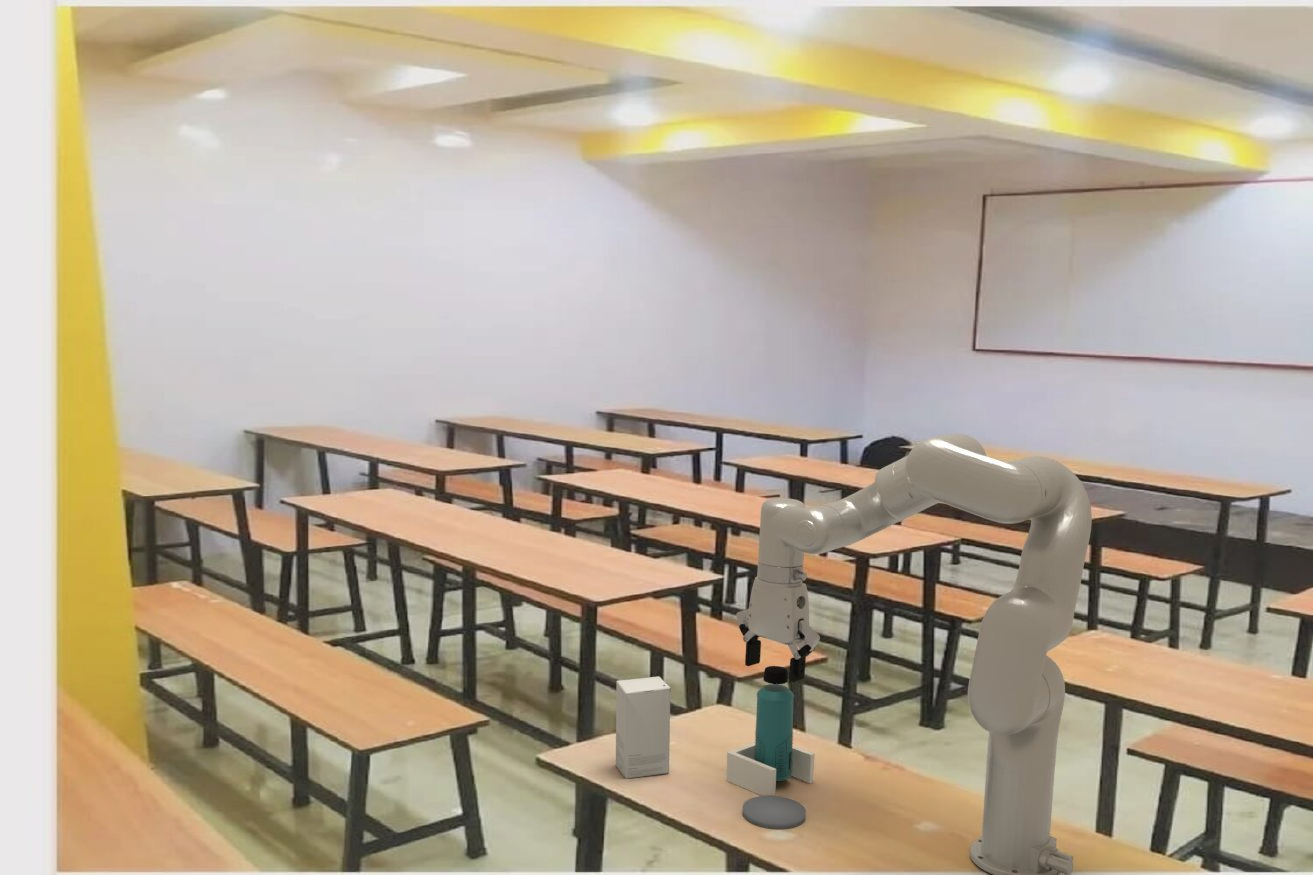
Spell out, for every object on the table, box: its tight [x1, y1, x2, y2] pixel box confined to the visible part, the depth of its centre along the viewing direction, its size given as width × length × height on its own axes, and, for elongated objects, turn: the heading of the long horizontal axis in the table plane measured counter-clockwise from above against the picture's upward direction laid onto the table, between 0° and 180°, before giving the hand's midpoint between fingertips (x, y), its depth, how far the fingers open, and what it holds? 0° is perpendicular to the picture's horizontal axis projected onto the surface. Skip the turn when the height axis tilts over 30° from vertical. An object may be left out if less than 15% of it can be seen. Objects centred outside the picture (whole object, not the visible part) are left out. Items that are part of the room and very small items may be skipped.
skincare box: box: [615, 675, 672, 780], centre depth 201 cm, size 8×7×16 cm
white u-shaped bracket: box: [725, 741, 815, 796], centre depth 198 cm, size 10×11×5 cm
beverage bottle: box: [754, 665, 795, 782], centre depth 197 cm, size 6×7×20 cm
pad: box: [742, 795, 807, 830], centre depth 185 cm, size 10×10×1 cm
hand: (774, 671), depth 196 cm, fingers open, 9 cm apart
